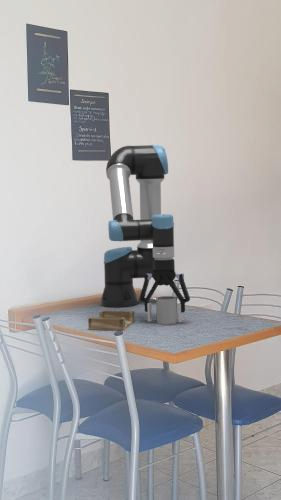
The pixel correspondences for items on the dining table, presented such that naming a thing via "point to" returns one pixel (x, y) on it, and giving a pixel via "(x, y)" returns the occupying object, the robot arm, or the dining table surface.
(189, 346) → the dining table surface
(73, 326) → the dining table surface
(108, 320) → the caddy
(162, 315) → the cup
